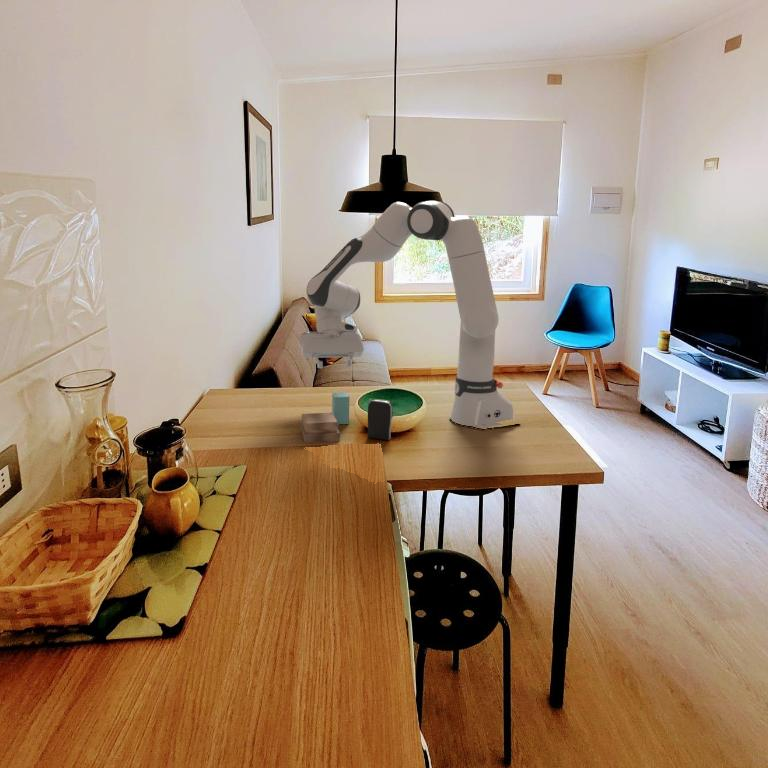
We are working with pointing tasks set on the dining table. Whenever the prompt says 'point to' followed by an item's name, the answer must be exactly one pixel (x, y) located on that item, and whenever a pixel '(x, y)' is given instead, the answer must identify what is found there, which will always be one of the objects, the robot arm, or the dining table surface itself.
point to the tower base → (320, 436)
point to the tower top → (319, 423)
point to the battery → (380, 419)
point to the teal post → (340, 407)
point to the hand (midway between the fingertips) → (334, 367)
